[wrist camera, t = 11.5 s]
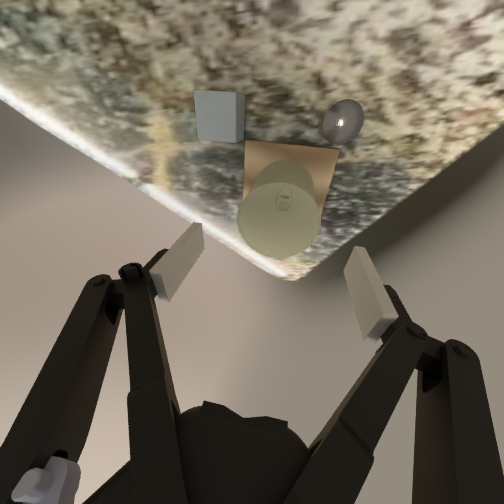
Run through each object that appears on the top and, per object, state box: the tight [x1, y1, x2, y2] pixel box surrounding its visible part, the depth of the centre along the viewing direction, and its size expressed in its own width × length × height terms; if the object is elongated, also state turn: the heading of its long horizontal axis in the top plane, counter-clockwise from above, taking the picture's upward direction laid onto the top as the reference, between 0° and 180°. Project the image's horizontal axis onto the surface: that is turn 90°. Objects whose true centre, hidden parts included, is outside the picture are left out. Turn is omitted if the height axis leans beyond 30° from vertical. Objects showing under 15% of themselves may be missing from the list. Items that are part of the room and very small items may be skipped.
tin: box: [318, 99, 364, 145], centre depth 23 cm, size 4×4×6 cm
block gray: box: [194, 90, 245, 143], centre depth 26 cm, size 5×5×5 cm
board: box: [243, 140, 340, 214], centre depth 31 cm, size 13×13×1 cm
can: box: [237, 160, 321, 258], centre depth 26 cm, size 9×9×12 cm
